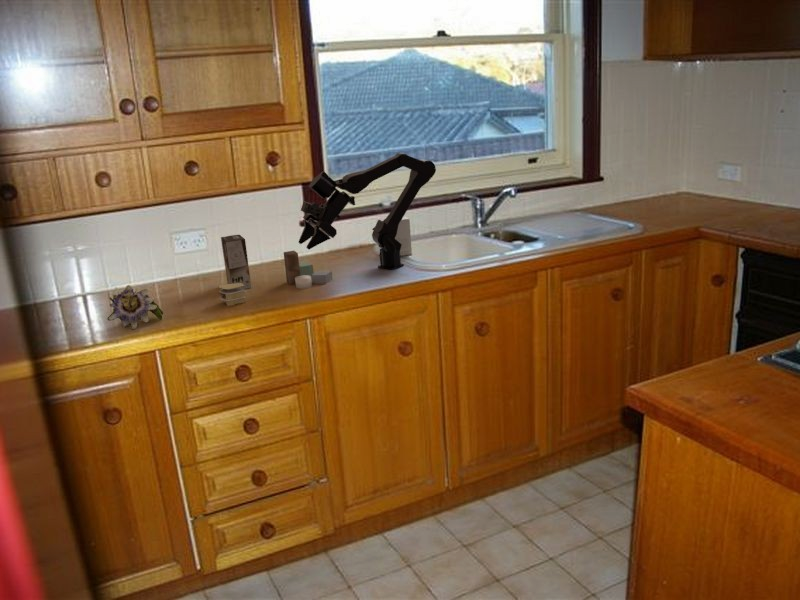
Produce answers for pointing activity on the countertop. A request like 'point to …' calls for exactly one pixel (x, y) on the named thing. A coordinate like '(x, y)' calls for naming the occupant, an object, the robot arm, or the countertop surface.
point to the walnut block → (291, 266)
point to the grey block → (322, 277)
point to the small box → (404, 236)
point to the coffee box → (236, 260)
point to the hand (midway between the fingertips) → (303, 245)
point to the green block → (305, 268)
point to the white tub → (303, 281)
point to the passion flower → (133, 307)
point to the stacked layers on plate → (232, 293)
